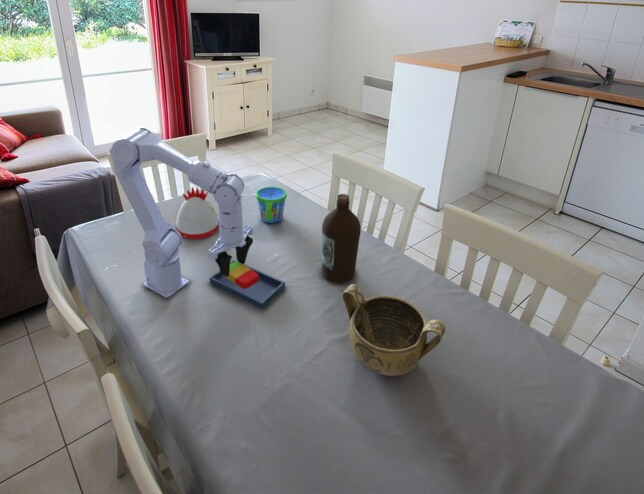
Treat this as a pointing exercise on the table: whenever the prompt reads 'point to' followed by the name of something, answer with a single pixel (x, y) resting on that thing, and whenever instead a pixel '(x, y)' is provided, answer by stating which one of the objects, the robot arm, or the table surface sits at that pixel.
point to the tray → (251, 288)
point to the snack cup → (271, 203)
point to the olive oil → (340, 242)
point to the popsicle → (242, 275)
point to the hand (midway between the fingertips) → (233, 268)
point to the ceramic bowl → (388, 332)
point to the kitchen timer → (196, 216)
